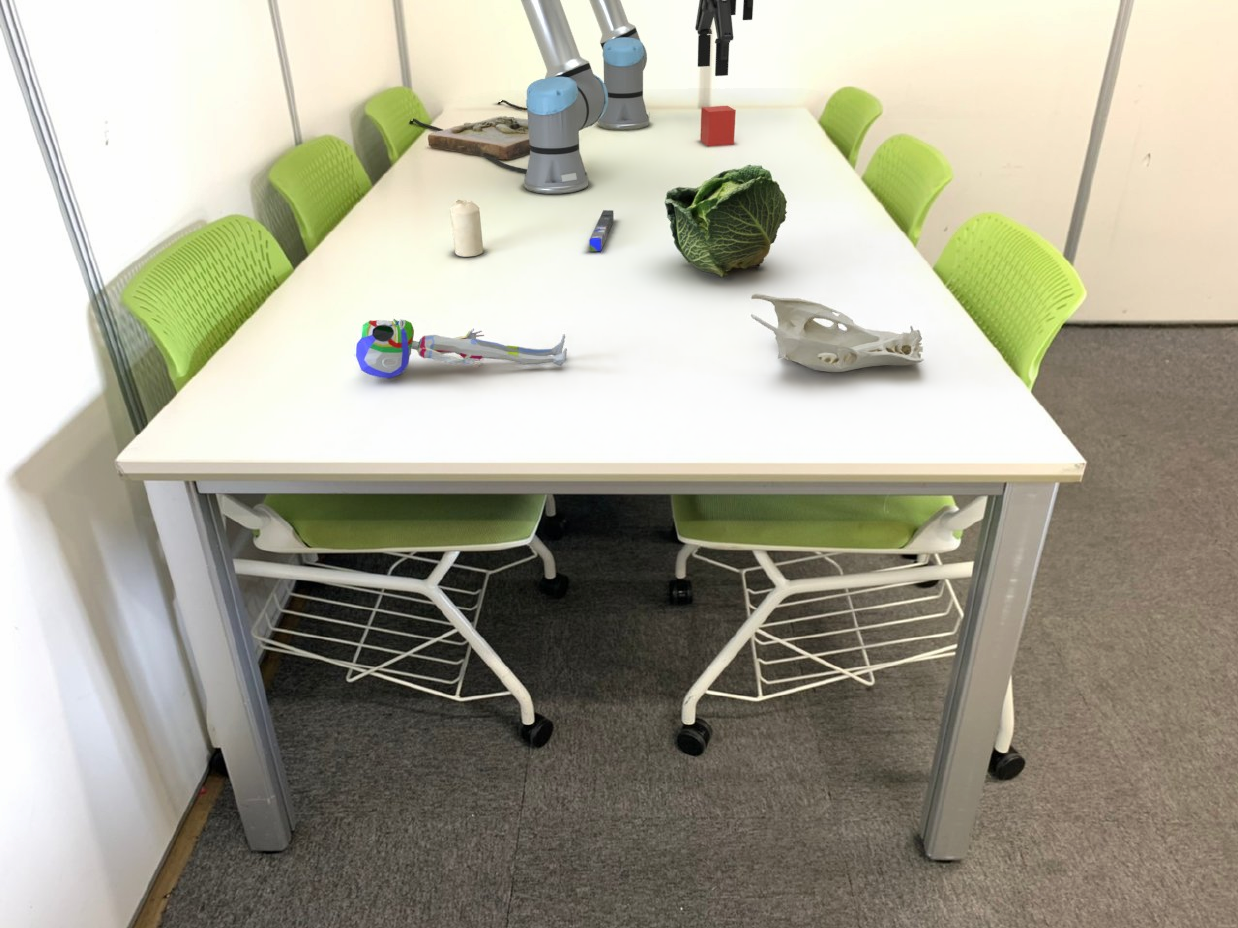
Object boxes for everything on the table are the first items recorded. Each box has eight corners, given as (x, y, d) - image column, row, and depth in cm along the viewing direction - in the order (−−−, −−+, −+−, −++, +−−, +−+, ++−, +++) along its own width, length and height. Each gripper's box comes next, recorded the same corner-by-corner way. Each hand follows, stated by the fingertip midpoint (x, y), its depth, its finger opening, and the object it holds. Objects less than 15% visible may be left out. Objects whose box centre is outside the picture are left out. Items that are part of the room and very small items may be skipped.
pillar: (613, 210, 190) (600, 241, 173) (613, 220, 191) (600, 251, 174) (603, 210, 190) (589, 240, 173) (603, 220, 191) (589, 251, 174)
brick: (708, 146, 247) (709, 112, 242) (700, 141, 252) (701, 107, 248) (733, 144, 249) (735, 110, 244) (725, 139, 254) (727, 105, 249)
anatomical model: (752, 284, 135) (923, 286, 131) (750, 340, 140) (914, 344, 136) (749, 325, 123) (938, 328, 119) (747, 384, 127) (928, 390, 124)
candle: (488, 249, 176) (483, 198, 171) (475, 258, 172) (470, 206, 167) (463, 246, 178) (457, 196, 173) (450, 255, 174) (443, 204, 168)
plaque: (505, 133, 232) (424, 120, 247) (507, 161, 236) (427, 146, 250) (578, 114, 253) (499, 103, 268) (578, 140, 256) (500, 128, 271)
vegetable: (694, 294, 173) (643, 202, 166) (775, 239, 175) (728, 145, 167) (734, 307, 155) (678, 205, 147) (824, 245, 156) (773, 141, 149)
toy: (569, 347, 126) (349, 329, 122) (563, 400, 131) (350, 385, 126) (565, 318, 135) (359, 301, 130) (559, 369, 139) (360, 354, 134)
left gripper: (752, -35, 180) (746, 78, 191) (715, -41, 201) (712, 62, 212) (716, -34, 179) (712, 80, 190) (683, -40, 199) (681, 63, 211)
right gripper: (772, -65, 244) (767, 21, 256) (739, -67, 265) (735, 12, 276) (746, -64, 243) (742, 22, 254) (715, -67, 263) (712, 13, 275)
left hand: (712, 71), depth 201 cm, fingers open, 13 cm apart
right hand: (738, 17), depth 265 cm, fingers open, 13 cm apart
